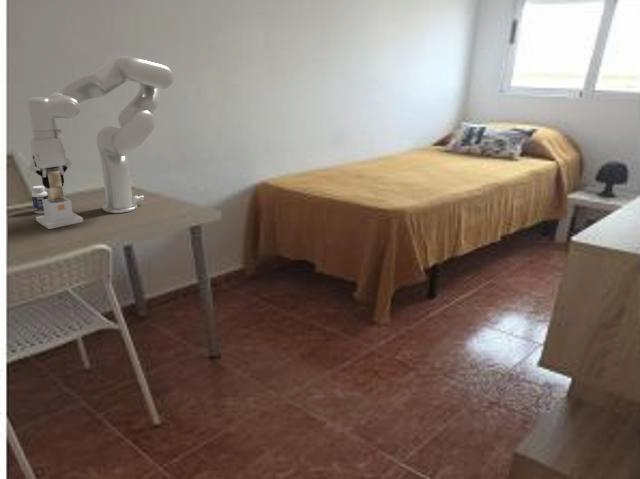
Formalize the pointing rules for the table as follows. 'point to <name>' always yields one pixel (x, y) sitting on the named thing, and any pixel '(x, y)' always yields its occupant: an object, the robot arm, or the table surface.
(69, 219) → the white stand
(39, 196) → the pill bottle
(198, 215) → the table surface
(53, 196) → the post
